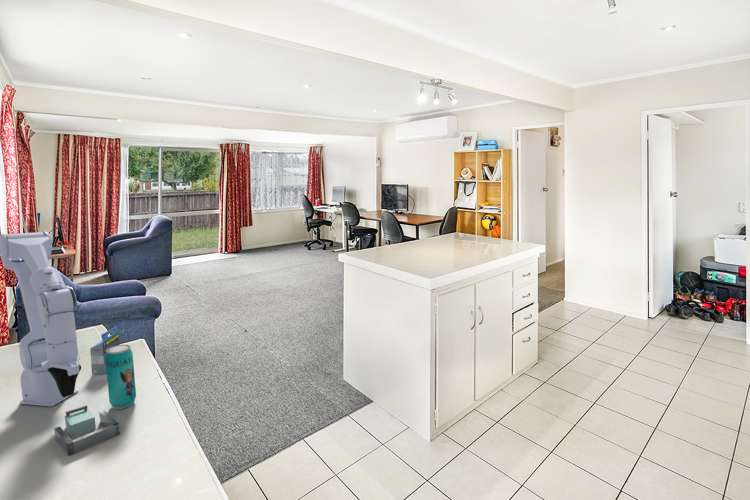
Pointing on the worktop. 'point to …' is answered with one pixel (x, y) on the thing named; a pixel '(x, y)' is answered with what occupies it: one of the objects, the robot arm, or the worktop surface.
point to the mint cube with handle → (79, 421)
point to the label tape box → (103, 351)
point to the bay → (89, 435)
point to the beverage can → (120, 376)
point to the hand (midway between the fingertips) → (67, 395)
